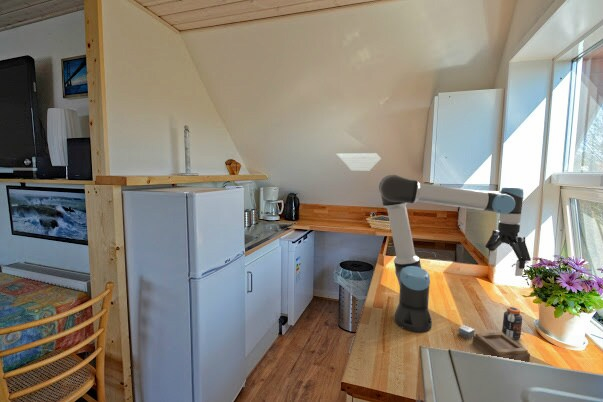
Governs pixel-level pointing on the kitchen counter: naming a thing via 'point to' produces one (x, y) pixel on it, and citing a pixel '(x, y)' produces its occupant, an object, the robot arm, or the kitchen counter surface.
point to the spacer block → (466, 331)
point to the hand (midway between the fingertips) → (504, 269)
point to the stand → (500, 346)
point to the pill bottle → (512, 323)
